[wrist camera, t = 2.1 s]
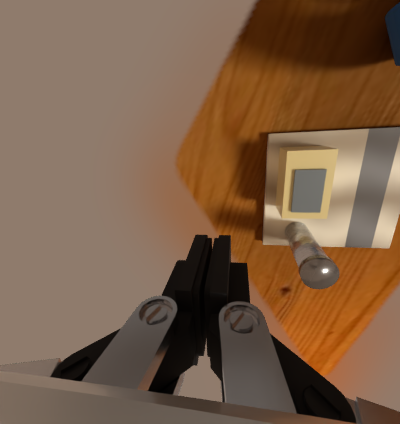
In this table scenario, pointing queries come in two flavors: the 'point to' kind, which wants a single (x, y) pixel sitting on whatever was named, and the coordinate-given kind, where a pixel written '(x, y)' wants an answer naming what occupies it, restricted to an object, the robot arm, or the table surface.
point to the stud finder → (305, 181)
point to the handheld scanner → (394, 31)
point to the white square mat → (344, 188)
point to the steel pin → (310, 257)
